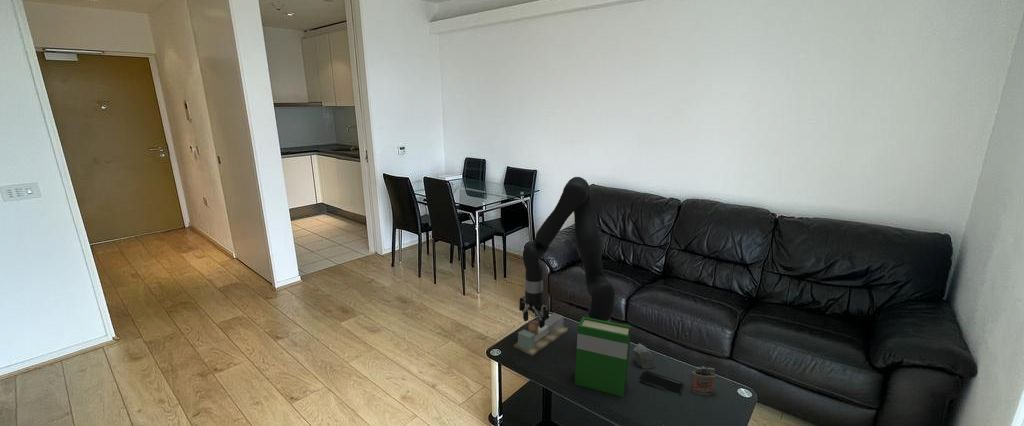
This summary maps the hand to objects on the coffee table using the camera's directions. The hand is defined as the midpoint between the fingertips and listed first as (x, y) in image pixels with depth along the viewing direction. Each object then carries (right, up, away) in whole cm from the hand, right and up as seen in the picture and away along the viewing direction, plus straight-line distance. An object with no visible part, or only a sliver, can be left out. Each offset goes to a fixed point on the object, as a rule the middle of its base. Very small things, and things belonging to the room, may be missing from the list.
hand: (533, 323), depth 181 cm
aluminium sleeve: (+9, -6, +13) cm, 17 cm away
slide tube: (+2, -7, +4) cm, 8 cm away
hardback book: (+24, -17, -23) cm, 37 cm away
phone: (+46, -17, -22) cm, 54 cm away
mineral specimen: (+43, -14, -11) cm, 46 cm away
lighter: (+59, -18, -27) cm, 68 cm away
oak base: (+4, -8, +7) cm, 11 cm away
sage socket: (-3, -9, -2) cm, 10 cm away
